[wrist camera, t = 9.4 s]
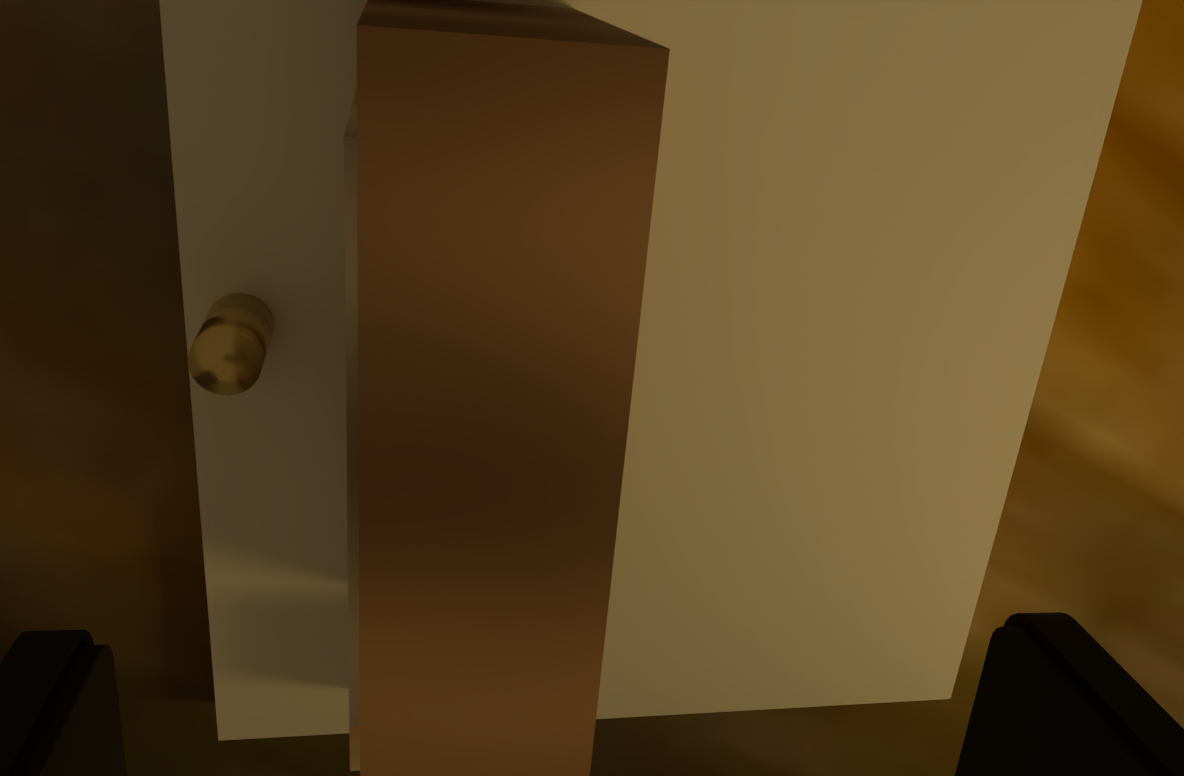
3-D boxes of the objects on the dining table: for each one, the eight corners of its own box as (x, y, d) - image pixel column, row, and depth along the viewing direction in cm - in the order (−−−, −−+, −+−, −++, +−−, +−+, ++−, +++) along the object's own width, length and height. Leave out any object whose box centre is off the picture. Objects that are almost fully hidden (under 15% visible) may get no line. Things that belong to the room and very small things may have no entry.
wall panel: (928, 668, 27) (950, 698, 26) (226, 704, 24) (218, 740, 23) (1147, -173, 20) (1191, -179, 19) (151, -297, 16) (134, -315, 15)
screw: (275, 353, 20) (263, 395, 18) (209, 352, 19) (190, 394, 18) (272, 293, 19) (260, 330, 17) (205, 291, 19) (184, 330, 17)
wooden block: (531, 581, 23) (583, 830, 16) (361, 586, 22) (346, 847, 16) (574, 8, 18) (670, 49, 12) (359, -9, 17) (337, 23, 11)
